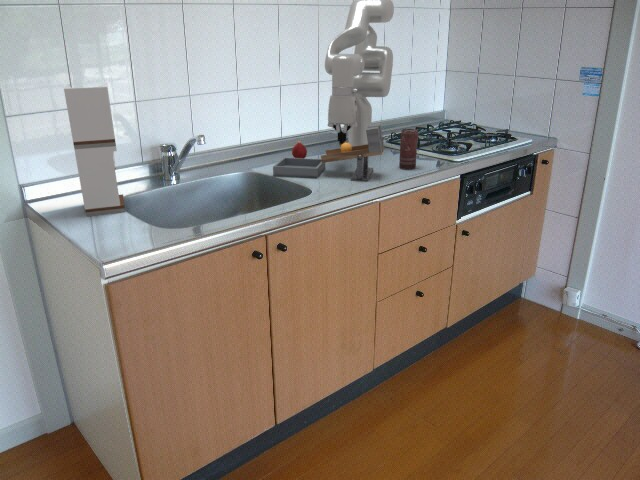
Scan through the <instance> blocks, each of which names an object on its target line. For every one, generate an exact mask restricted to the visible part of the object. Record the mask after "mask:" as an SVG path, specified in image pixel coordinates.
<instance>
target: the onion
mask: <svg viewBox="0 0 640 480" xmlns="http://www.w3.org/2000/svg"><path fill="white" fill-rule="evenodd" d="M307 150H308V149H307V147H306V146H305V145H304V144H303V143H301V141H299V140H297V143H296V144H295V145H294V146H293V147H292V150H291V154H292V156H293V157H292V158H307V154H308V151H307Z"/></svg>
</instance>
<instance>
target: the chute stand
mask: <svg viewBox="0 0 640 480" xmlns="http://www.w3.org/2000/svg"><path fill="white" fill-rule="evenodd" d="M374 169H375V168H374V167H369V156H368V157H363V155H362V154H360V155H359V156H358V157H357V158H356V169H355V170H354V172H353V174H352V175H351V177H350V181H353V182H354V181H355V182H369V181H370V179H371V177H372V174H373V173H374Z"/></svg>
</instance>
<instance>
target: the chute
mask: <svg viewBox="0 0 640 480" xmlns="http://www.w3.org/2000/svg"><path fill="white" fill-rule="evenodd" d="M366 134H367V140H368V144H366V145H359V146H352V151H349V152H341V145H342V143H341V144H339V143H338V144H339V145H338V146H339V148H333V149H326V150H325V154H323V155H322V154H321V155H320V159H321V160H322V163H325V162H326V163H331V162H339V161H344V160H353V159H357V157H358V156H359V155H360V154H362V155H363V157H368V158H369V157H373V156H381V155H383V153H384V151H385V143H384V138H383V131H382V123H376V124H371V125H369V126H368V128H367V129H366Z"/></svg>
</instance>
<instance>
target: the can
mask: <svg viewBox="0 0 640 480" xmlns="http://www.w3.org/2000/svg"><path fill="white" fill-rule="evenodd" d="M399 140H400V144H399V162H398V163H399V165H398V166H399V168H400V169H401V170H409V171H410V170H415V169H416V167H417V154H418V152H417V151H418V141H419V131H418V130H417V129H414V128H405V129H402V130H401V132H400V139H399Z"/></svg>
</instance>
